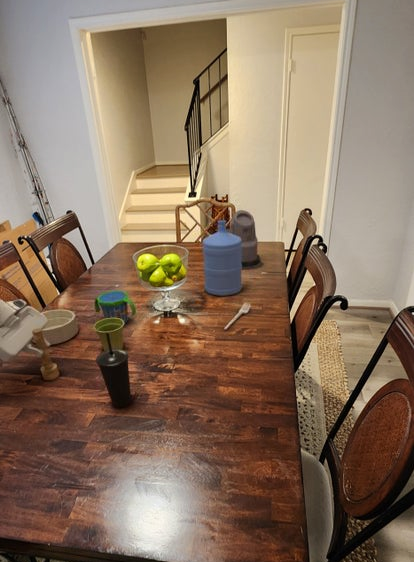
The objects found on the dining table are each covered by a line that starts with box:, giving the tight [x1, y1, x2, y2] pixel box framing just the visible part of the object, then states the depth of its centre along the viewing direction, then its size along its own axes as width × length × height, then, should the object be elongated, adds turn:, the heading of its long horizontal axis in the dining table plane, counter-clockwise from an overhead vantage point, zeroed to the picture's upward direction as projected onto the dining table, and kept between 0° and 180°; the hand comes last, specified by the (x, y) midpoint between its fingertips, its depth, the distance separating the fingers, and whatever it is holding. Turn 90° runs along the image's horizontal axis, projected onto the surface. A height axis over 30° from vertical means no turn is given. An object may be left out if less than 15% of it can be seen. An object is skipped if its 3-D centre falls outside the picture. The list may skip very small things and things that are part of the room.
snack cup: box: [94, 290, 137, 324], centre depth 132 cm, size 16×10×10 cm
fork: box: [223, 302, 251, 330], centre depth 133 cm, size 3×20×2 cm, turn 152°
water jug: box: [202, 219, 243, 297], centre depth 150 cm, size 16×16×28 cm
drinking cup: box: [95, 333, 132, 408], centre depth 90 cm, size 8×8×20 cm
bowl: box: [31, 308, 80, 346], centre depth 127 cm, size 16×16×6 cm
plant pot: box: [92, 318, 125, 352], centre depth 117 cm, size 9×9×9 cm
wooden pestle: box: [32, 328, 60, 381], centre depth 103 cm, size 4×4×15 cm
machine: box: [226, 209, 263, 270], centre depth 183 cm, size 30×16×24 cm, turn 19°
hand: (45, 351), depth 103 cm, fingers closed on wooden pestle, 2 cm apart
